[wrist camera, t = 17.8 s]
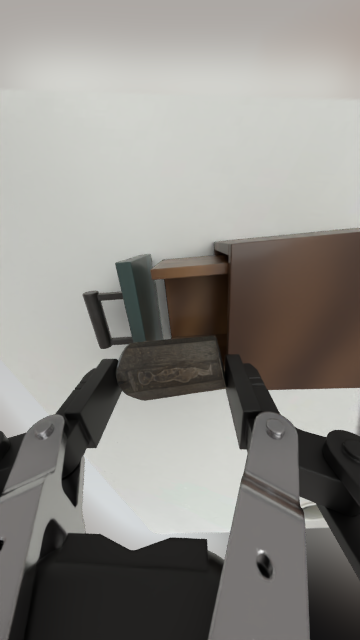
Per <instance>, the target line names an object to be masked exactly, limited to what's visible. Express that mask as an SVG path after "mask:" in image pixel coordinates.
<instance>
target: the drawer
mask: <svg viewBox="0 0 360 640" xmlns="http://www.w3.org/2000/svg"><path fill="white" fill-rule="evenodd" d="M228 263H229V256H228V255H226V254H223V255H212V256H200V257H189V258H178V259H167V260H162V261H161V262H160V263H158V264H157V265H156V266H155V267H153V266H152V259H151V254H145V255H139V256H136V257H133V258H129V259H126V260H123V261H120V262H117V263H115V265H116V269H117V273H118V278H119V282H120V286H121V291H122V292H110V293H99V292H98V291H89V292H85V293H83V298H84V301H85V304H86V307H87V310H88V313H89V316H90V319H91V322H92V325H93V328H94V331H95V335H96V338H97V341H98V344H99V347H100V348H101V349H106V348H109V347H111V346H112V345H122V344H130V343H135V342H144V341H156V340H163V334H162V327H161V320H160V313H159V307H158V300H157V293H156V286H155V280H158V279H164V281H165V289H166V297H167V305H168V313H169V321H170V329H171V339H178V338H192V337H205V336H216V338H217V342H218V346H219V350H220V354H221V358H222V361H223V365H224V361H225V355H226V353H227V308H228ZM116 299H124V304H125V308H126V313H127V317H128V321H129V326H130V330H131V334H132V337H120V338H111V335H110V331H109V327H108V324H107V320H106V317H105V313H104V310H103V306H102V303H101V301H102V300H116Z"/></svg>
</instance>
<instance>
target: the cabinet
mask: <svg viewBox="0 0 360 640" xmlns="http://www.w3.org/2000/svg"><path fill="white" fill-rule="evenodd" d="M223 254H226V255H228V256H229V263H228V308H227V353H226V355H229V354H239V355H240V357H241V360H242V362H243V363H250V364H251V365H253V366H254V367H255V368H256V369H257V370H258V372H259V374H260V376H261V379H262V380H263V382H264V384H265V386H266V388H267V390H286V389H328V388H360V228H352V229H342V230H331V231H321V232H311V233H300V234H290V235H279V236H269V237H258V238H248V239H237V240H227V241H216V242H214V255H223Z"/></svg>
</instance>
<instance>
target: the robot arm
mask: <svg viewBox="0 0 360 640" xmlns="http://www.w3.org/2000/svg"><path fill="white" fill-rule="evenodd" d="M117 364H118V360H117V359H103V360H102V361H101V362H100V364H99V365H98V366H97V368H94V369H92V370H91V371H90V372H88V373H87V374H86V375H85V376H84V377H83V379H82V380H81V381H80V384H78V385H77V387H76V388H75V390H73V392H72V393H71V394H70V396H69V397H68V398H67V399H66V401H65V402H64V403H63V405H62V406H61V407H60V409H59V410H58V411H57V412H56V414H54V415H50V416H47V417H45V418H43V419H41V420H40V421H38V422H37V423H35V424H34V425H33V426H32V427H31V428H30V429H29V430H28V431H27V433H24V434H20V435H17V436H14V437H10V438H7V437H6V436H5V435H4V433H3V432H1V431H0V640H310V635H309V610H308V609H309V608H308V583H307V557H306V534H305V533H306V532H305V518H304V512H303V509H302V508H301V507H300V500H299V496H300V497H302V498H305V499H307V500H310V501H312V502H315V503H316V505H317V506H318V508H319V510H320V512H321V513H322V515H323V517H324V519H325V520H326V522H327V524H328V526H329V527H330V529H331V531H332V533H333V534H334V536H335V538H336V540H337V541H338V543H339V545H340V547H341V548H342V550H343V552H344V554H345V556H346V557H347V559H348V561H349V563H350V564H351V566H352V568H353V570H354V571H355V573H356V575H357V577H358V578H359V580H360V436H358V435H356V434H353V433H351V432H348V431H344V430H334V431H331V432H330V433H329V434H328V435H327V437H323V436H319V435H316V434H312V433H309V432H305V431H302V430H300V429H297V428H296V427H294V426H293V424H292V423H291V422H290V421H289V420H288V419H286V418H285V417H284V416H282V415H280V413H279V411H278V409H277V407H276V405H275V403H274V401H273V399H272V397H271V395H270V394H269V392H268V390H267V388H266V386H265V384H264V382H263V380H262V379H261V376H260V374H259V372H258V370H257V369H256V368H255V367H254V366H253V365H251V364H250V363H243V362H242V360H241V357H240V355H239V354H229V355H225V361H224V372H225V379H226V387H227V388H226V392H227V397H228V401H229V405H230V409H231V414H232V418H233V422H234V426H235V431H236V435H237V439H238V444H239V448H240V449H247V452H248V455H247V459H246V464H245V469H244V474H243V476H242V479H241V483H240V488H239V493H238V497H237V502H236V507H235V512H234V517H233V521H232V526H231V531H230V536H229V541H228V545H227V550H226V555H225V560H223V559H222V558H221V557H219V556H217V555H216V554H214V553H212V552H210V551H208V550H207V539H191V538H169V539H166V540H163V541H160V542H157V543H154V544H152V545H149V546H146V547H143V548H140V549H138V550H129V549H127V548H125V547H123V546H121V545H120V544H118V543H116V542H114V541H112V540H110V539H108V538H107V537H105V536H103V535H101V534H86V531H85V524H84V519H83V514H82V503H83V485H84V467H85V466H84V465H85V458H84V456H83V455H84V453H85V451H86V449H87V448H97V445H98V443H99V441H100V439H101V436H102V434H103V432H104V430H105V428H106V425H107V423H108V421H109V419H110V416H111V414H112V412H113V410H114V407H115V405H116V403H117V401H118V399H119V396H120V394H121V392H122V389H121V388H120V386H119V385H118V382H117V378H116V367H117Z"/></svg>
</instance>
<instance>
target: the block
mask: <svg viewBox="0 0 360 640" xmlns="http://www.w3.org/2000/svg"><path fill="white" fill-rule="evenodd" d="M116 378H117V382H118V385H119V386H120V388H121V389H122V391H123V392H124V393H125V394H126V395H128V396H131V397H133V398H137V399H140V400H144V401H146V400H153V399H159V398H166V397H172V396H179V395H186V394H191V393H198V392H206V391H213V390H218V389H226V388H227V387H226V379H225V372H224V365H223V361H222V358H221V354H220V350H219V346H218V342H217V338H216V336H205V337H192V338H178V339H167V340H156V341H144V342H135V343H130V344H129V345H128V346H127V347H126V348H125V349H124V351H123V352H122V354H121V356H120V358H119V361H118V364H117V367H116Z"/></svg>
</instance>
